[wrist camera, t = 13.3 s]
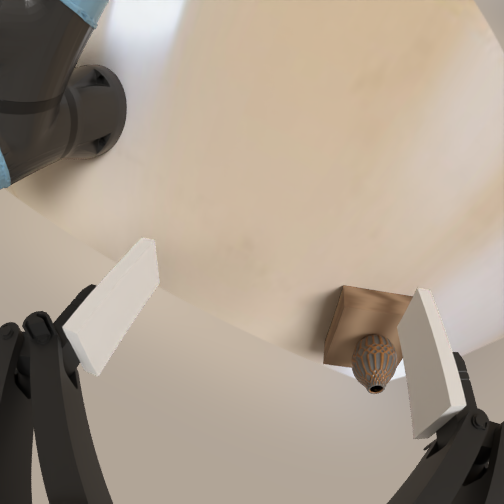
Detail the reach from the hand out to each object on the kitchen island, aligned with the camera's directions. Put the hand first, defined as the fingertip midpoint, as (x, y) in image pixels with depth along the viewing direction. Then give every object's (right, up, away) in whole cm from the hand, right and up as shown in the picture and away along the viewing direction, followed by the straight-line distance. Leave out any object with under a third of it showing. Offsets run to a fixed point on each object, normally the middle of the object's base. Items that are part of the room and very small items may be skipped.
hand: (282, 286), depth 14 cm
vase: (+17, -12, +28) cm, 35 cm away
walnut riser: (+18, -10, +32) cm, 38 cm away
